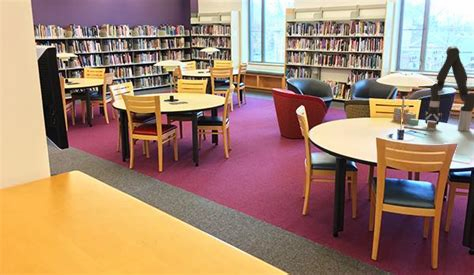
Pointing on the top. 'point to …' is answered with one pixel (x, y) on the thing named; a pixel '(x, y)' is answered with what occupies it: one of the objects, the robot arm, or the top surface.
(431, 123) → the walnut block
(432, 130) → the blueprint board
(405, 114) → the stack of blocks
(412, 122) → the teal block
